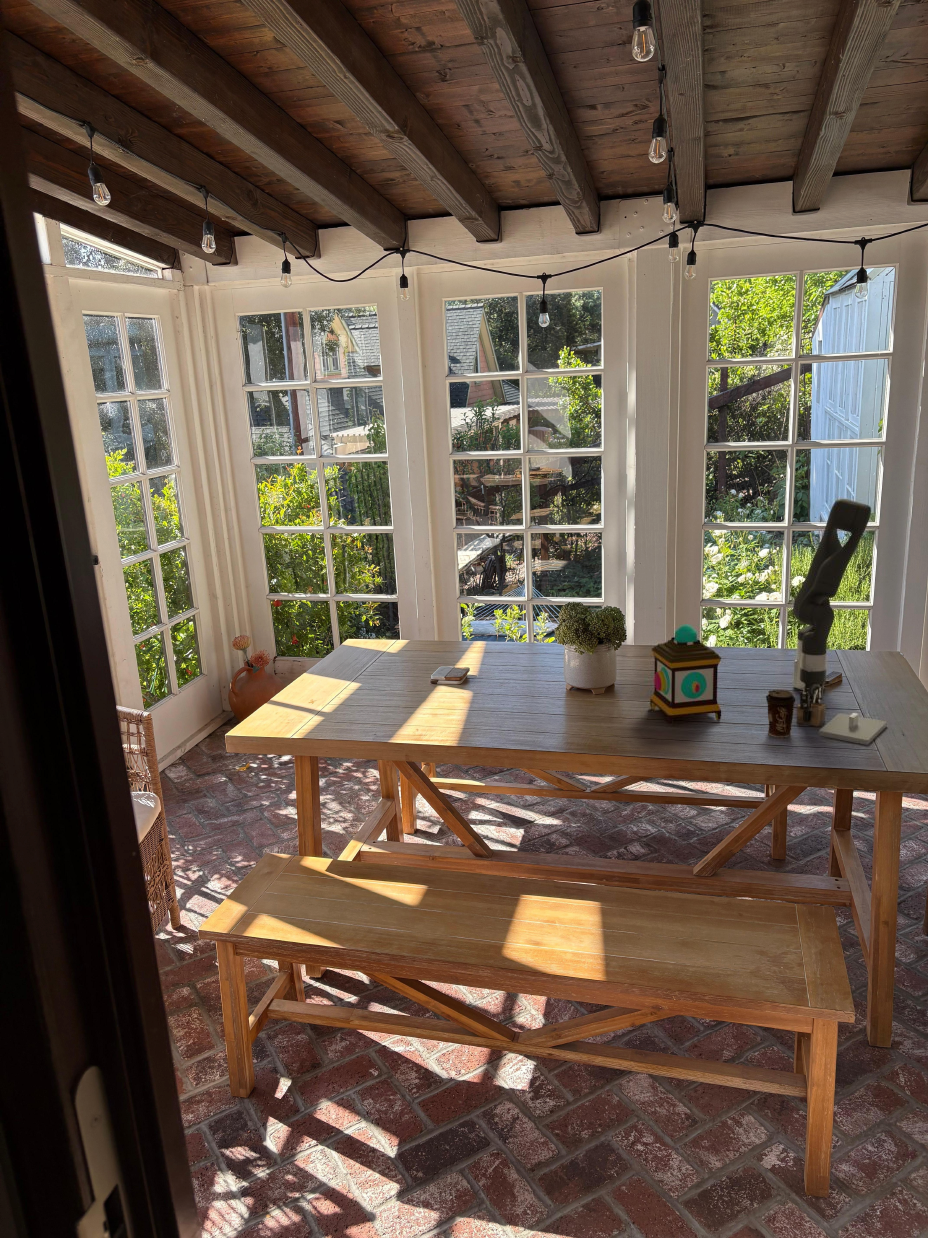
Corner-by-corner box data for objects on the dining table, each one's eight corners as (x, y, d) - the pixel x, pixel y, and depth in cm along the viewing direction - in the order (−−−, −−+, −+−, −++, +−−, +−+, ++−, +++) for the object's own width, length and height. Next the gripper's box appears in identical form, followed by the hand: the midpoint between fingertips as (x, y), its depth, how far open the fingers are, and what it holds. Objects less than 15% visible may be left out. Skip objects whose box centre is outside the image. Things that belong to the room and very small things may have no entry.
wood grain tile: (848, 727, 271) (849, 716, 270) (852, 723, 274) (853, 712, 273) (853, 728, 270) (853, 717, 269) (857, 724, 273) (858, 713, 272)
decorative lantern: (666, 728, 282) (667, 635, 275) (644, 707, 301) (644, 620, 294) (727, 721, 285) (729, 629, 278) (701, 701, 304) (703, 614, 297)
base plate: (818, 735, 270) (818, 730, 270) (839, 717, 284) (839, 713, 283) (867, 745, 261) (867, 740, 261) (886, 726, 275) (886, 721, 274)
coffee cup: (760, 729, 277) (762, 688, 274) (788, 728, 277) (790, 687, 274) (769, 739, 269) (770, 698, 266) (797, 738, 269) (799, 697, 266)
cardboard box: (796, 722, 281) (797, 705, 280) (803, 716, 286) (804, 700, 285) (817, 726, 277) (818, 709, 276) (824, 720, 282) (825, 704, 280)
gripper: (809, 659, 285) (807, 709, 289) (792, 670, 274) (789, 723, 278) (833, 662, 280) (831, 714, 284) (817, 674, 270) (814, 727, 274)
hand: (810, 718), depth 281 cm, fingers closed on cardboard box, 6 cm apart
